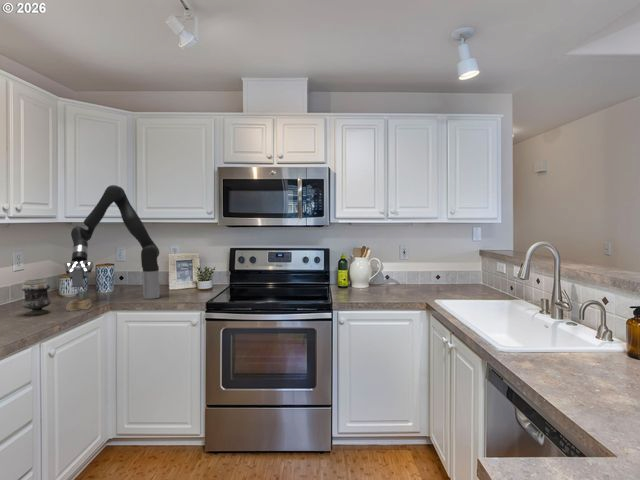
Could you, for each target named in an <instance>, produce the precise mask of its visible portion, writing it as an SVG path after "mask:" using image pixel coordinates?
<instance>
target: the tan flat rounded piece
mask: <svg viewBox="0 0 640 480" xmlns="http://www.w3.org/2000/svg"><path fill="white" fill-rule="evenodd" d="M92 304H93V303H92V300H91V298H86V299H83V298H82V299H72V300H70V301H69V302H68V303H67V304H66V305H65V306H66V308H65V309H66V311H67V312H69V311H70V312H72V311H83V310H84V311H86V310H89V309H90V308H91V307H92Z"/></svg>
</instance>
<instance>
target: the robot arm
mask: <svg viewBox="0 0 640 480" xmlns="http://www.w3.org/2000/svg"><path fill="white" fill-rule="evenodd" d="M113 203H114V204H115V205H116V207H117V208H118V210H119V212H120V215H121V219H122V221H123V224H124V225H125V227H126V229H127V230H128V232H129V233H130V234H131V235H132V237H134V239H135V240H136V241H137V242H138V243H139V244H140V246H141V251H140V261H141V267H142V268H141V269H142V292H143V293H142V294H143V297H142V298H143V299H144V300H151V299H152V300H153V299H160V269H159V264H158V257H159V256H160V250H159V249H160V248H159V247H158V246H157V245H156V243H155V241H153V239H152V238H151V236H150V235H149V233H148V231H147V229H146V227H145V226H144V224H143V222H142V220H141V218H140V216H139V215H138V213H137V211H136V210H135V209H134V208H133V206H132V205H131V203H130V201H129V198H128V196H127V195H126V192H125V190H124V189H123V188H122V187H121V186H118V185H113V184H112V185H108V186H107V187H106V188H105V190H104V192H103V194H102V196H101V198H100V199H99V201H98V202H97V204H96V205H95V206H94V208H93V209H92V211H91V212H90V213H89V214H88V215H87V216H86V218H85V219H84V220H83V224H84V225H85V226H86V227H87V229H86V228H84V227H82V226H74V227H73V228H72V229H71V232H70V236H71V240H72V244H73V249H72V253H71V260H70V261H71V262H70V263H69V262H68V263H67V262H64V269H65V272H66V274H67V275H68V276H69V280H72V270H74V266H82V269H84V276H83V277H84V279H85V280H86V279H87V276H88V274H89V273H91V272H92V270H93V267H94V262H93V261H90V262H88V255H89V253H88V246H89V243H88V241H90V240H91V239H92V236H93V233H94V232H95V230H96V228H97V225H99V223H100V222H101V221H102V220H103V218H104V217H105V214H106V213H107V210H108V209H109V207H110V206H111V205H112V204H113ZM70 266H71V268H70ZM87 266H88V268H86V267H87ZM69 268H70V269H69Z"/></svg>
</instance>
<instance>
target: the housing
mask: <svg viewBox="0 0 640 480" xmlns="http://www.w3.org/2000/svg"><path fill="white" fill-rule="evenodd" d="M83 276H84V269H82V266H74V270H72V279H71V283H72V284H71V286H70V287H71V288H81V287H85V286H86V285H87V284H86V278H85V279H84V277H83Z"/></svg>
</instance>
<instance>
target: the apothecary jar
mask: <svg viewBox="0 0 640 480" xmlns="http://www.w3.org/2000/svg"><path fill="white" fill-rule="evenodd" d="M24 281H25V282H24V284H23V285H22V286H21V290H22V292H24V300H23V301H22V303H21V306H22V307H23V308H24V309H28V310H30V311H28V312H26V313H25V315H24V316H28V317H33V316H34V317H35V316H40V315H46V314H49V313H50V310H48V309H45V308H46V307H48V306H50V305H51V303H52V300H51V299H50V298H49V293H48V290H49V289H50V288H51V285H50V283H48V282H47V279H46V278H33V279H27V280H24ZM43 308H44V309H43Z"/></svg>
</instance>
